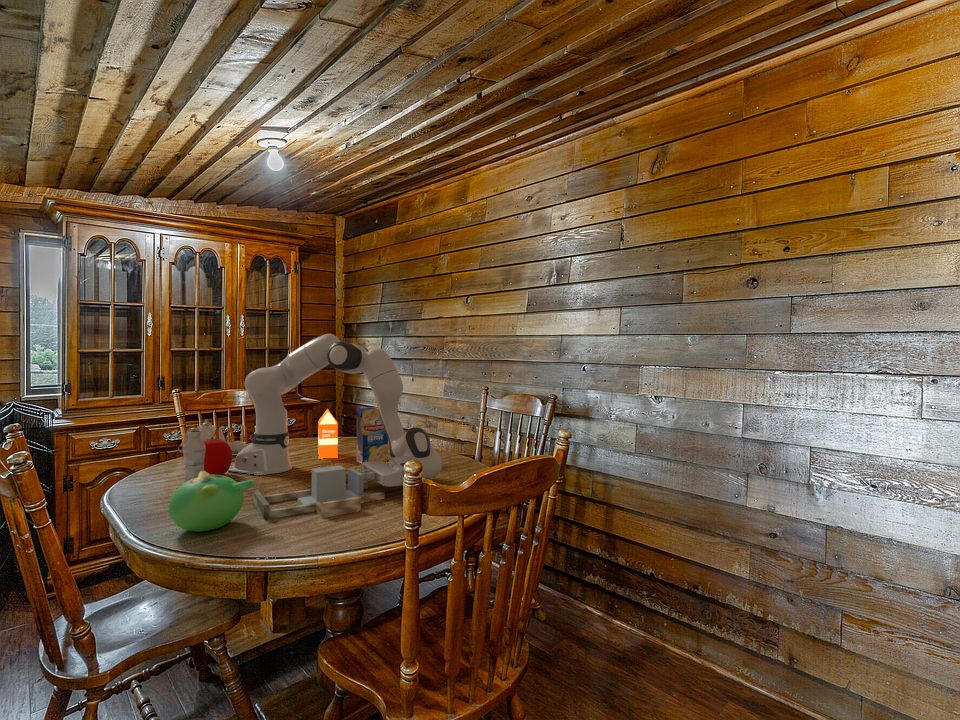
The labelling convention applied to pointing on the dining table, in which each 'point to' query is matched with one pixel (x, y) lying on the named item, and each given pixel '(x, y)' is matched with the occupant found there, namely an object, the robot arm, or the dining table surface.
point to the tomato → (217, 456)
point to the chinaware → (208, 432)
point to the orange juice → (327, 436)
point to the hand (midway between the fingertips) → (358, 475)
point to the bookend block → (333, 484)
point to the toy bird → (207, 502)
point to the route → (311, 504)
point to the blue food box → (371, 436)
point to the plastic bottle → (193, 455)
